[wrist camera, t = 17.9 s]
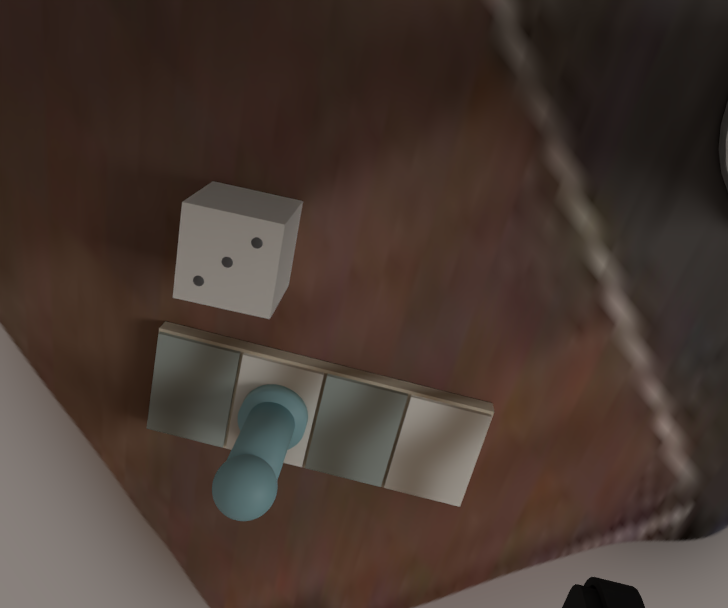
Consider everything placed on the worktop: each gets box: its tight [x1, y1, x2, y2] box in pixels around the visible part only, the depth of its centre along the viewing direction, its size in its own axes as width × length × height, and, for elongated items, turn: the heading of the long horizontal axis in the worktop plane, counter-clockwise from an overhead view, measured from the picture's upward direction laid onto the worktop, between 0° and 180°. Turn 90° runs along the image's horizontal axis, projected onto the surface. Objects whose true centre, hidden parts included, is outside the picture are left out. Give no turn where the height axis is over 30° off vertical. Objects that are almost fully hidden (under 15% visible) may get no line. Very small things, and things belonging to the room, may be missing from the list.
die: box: [173, 181, 303, 319], centre depth 35 cm, size 5×5×5 cm
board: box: [147, 321, 494, 507], centre depth 40 cm, size 20×7×1 cm, turn 77°
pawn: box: [212, 384, 308, 521], centre depth 36 cm, size 4×4×9 cm
